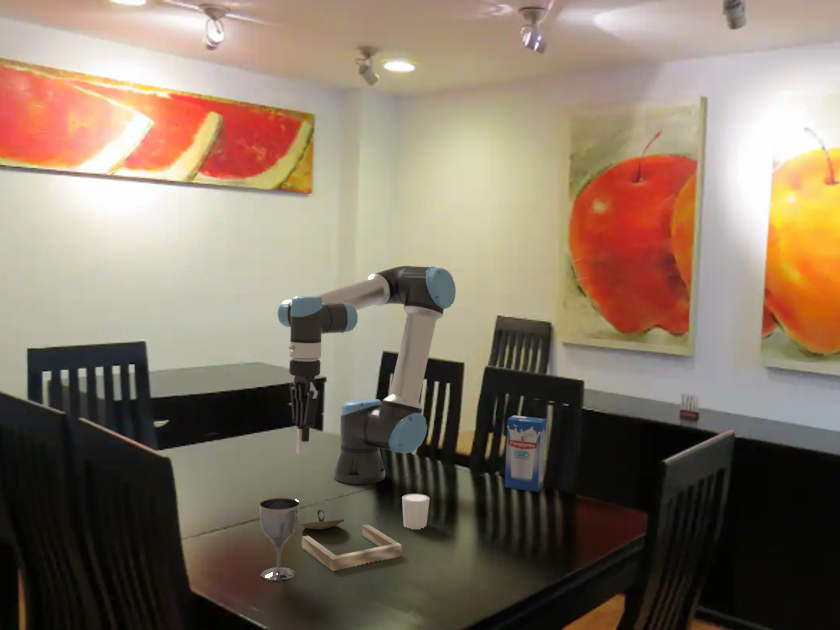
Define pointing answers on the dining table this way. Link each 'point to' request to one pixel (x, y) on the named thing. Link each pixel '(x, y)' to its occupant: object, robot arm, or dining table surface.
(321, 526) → the lid
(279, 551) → the wine glass
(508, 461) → the milk carton
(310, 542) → the wooden u-shaped frame
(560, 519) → the dining table surface
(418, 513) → the white cup
